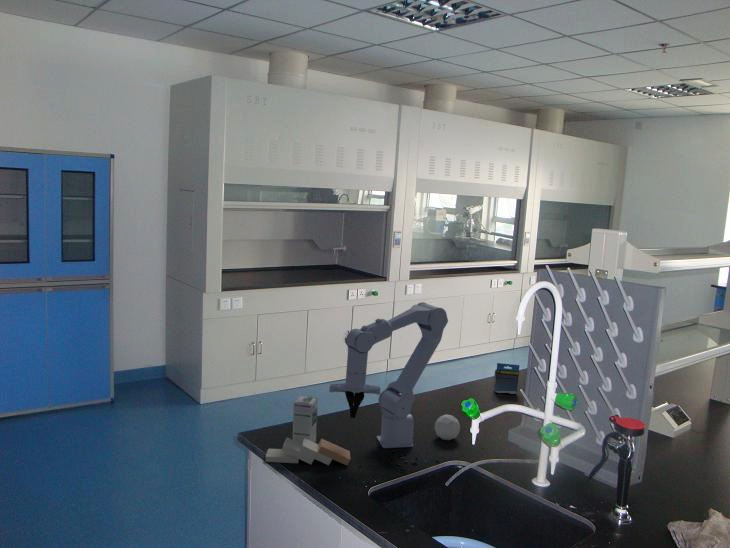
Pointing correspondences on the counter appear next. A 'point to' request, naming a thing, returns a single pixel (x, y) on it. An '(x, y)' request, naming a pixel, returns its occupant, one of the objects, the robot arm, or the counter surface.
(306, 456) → the tile
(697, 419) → the counter surface
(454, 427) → the ball
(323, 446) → the tile
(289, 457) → the tile
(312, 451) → the tile
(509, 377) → the label tape box
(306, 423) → the syrup box
